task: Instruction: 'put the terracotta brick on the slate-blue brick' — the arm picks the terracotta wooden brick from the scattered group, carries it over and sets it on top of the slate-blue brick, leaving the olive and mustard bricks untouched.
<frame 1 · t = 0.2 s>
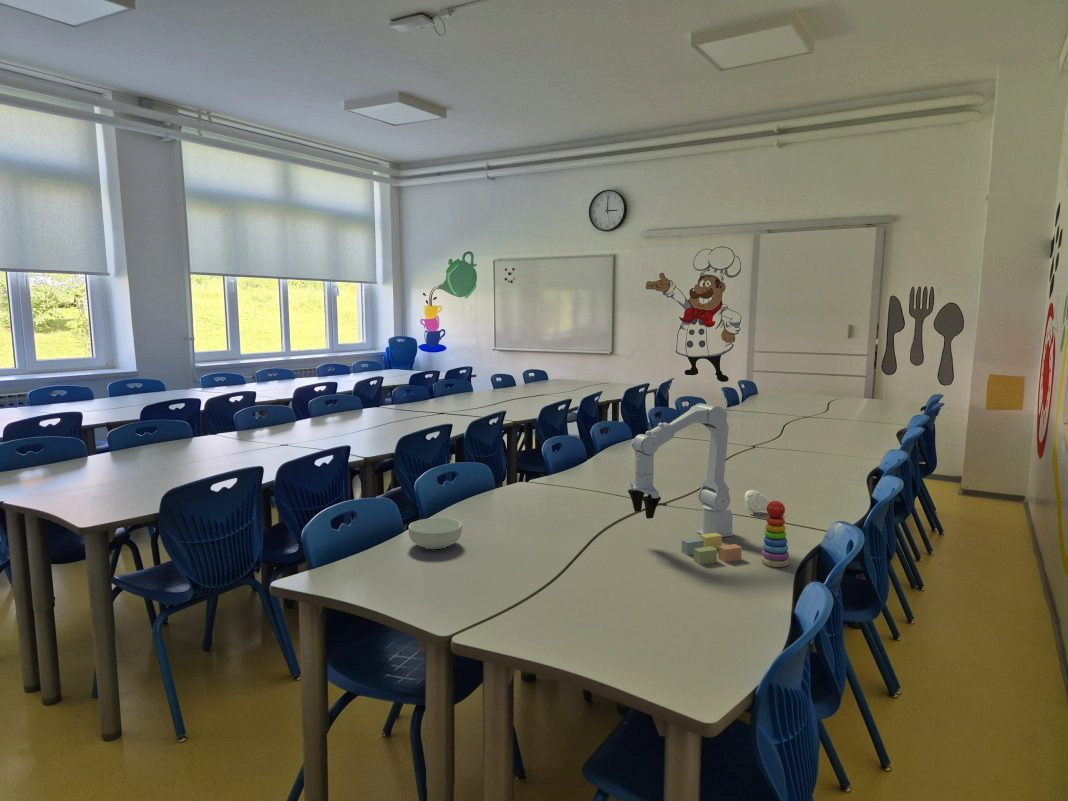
hand: (643, 514, 210), 10 cm above the table, fingers open, 7 cm apart
slate brick: (692, 552, 205), on the table
mustard brick: (710, 547, 210), on the table
terracotta brick: (729, 559, 199), on the table
stacking toy: (774, 563, 196), on the table
white textured lump: (760, 514, 245), on the table
olive brick: (705, 562, 197), on the table
cereal bowl: (435, 546, 211), on the table
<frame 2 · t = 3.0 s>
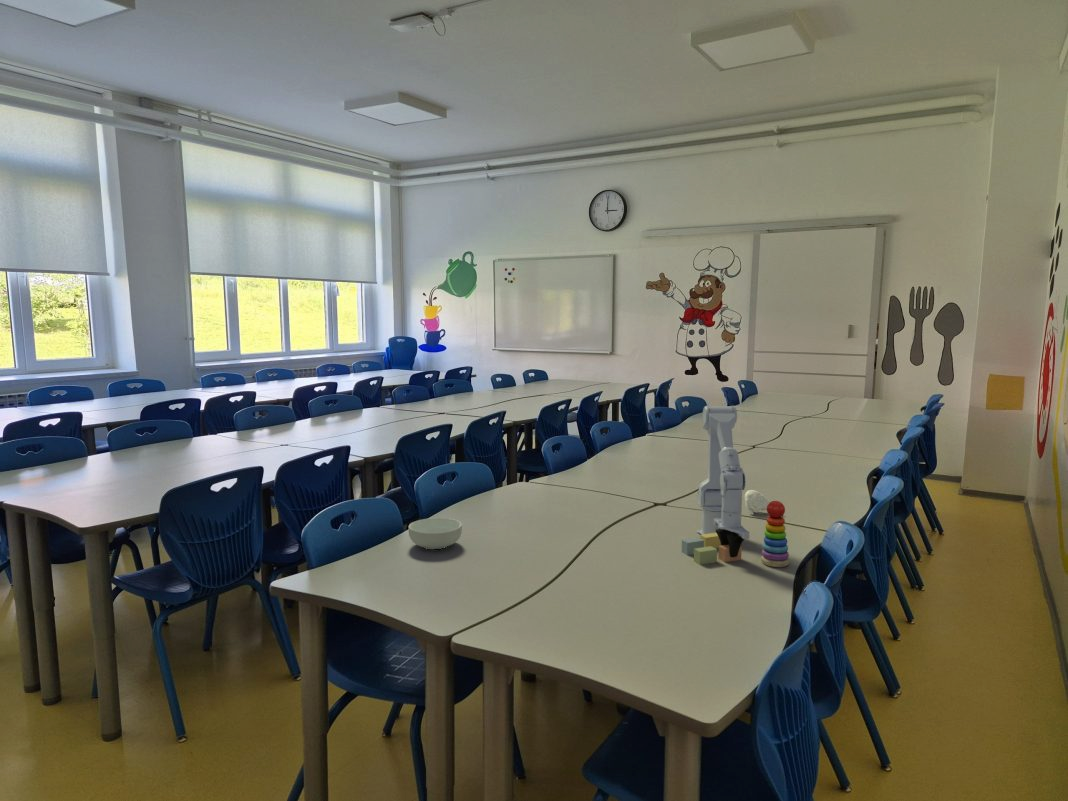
hand: (729, 554, 199), 1 cm above the table, fingers closed on terracotta brick, 3 cm apart
terracotta brick: (729, 559, 199), on the table, touching gripper
everything else where it was.
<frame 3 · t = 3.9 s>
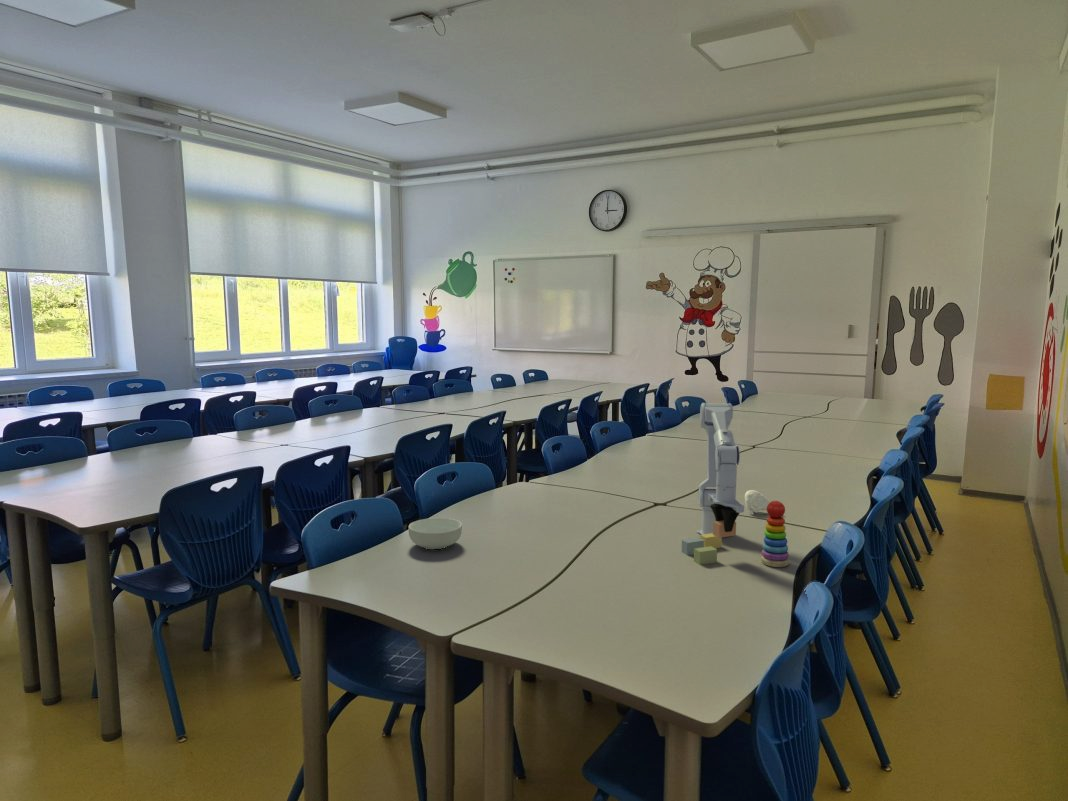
hand: (724, 529, 199), 9 cm above the table, fingers closed on terracotta brick, 3 cm apart
terracotta brick: (724, 535, 199), point 7 cm above the table, touching gripper
everything else where it was.
when the fingers open (7 cm above the table, at t = 5.1 s): terracotta brick stays where it is, resting on slate brick.
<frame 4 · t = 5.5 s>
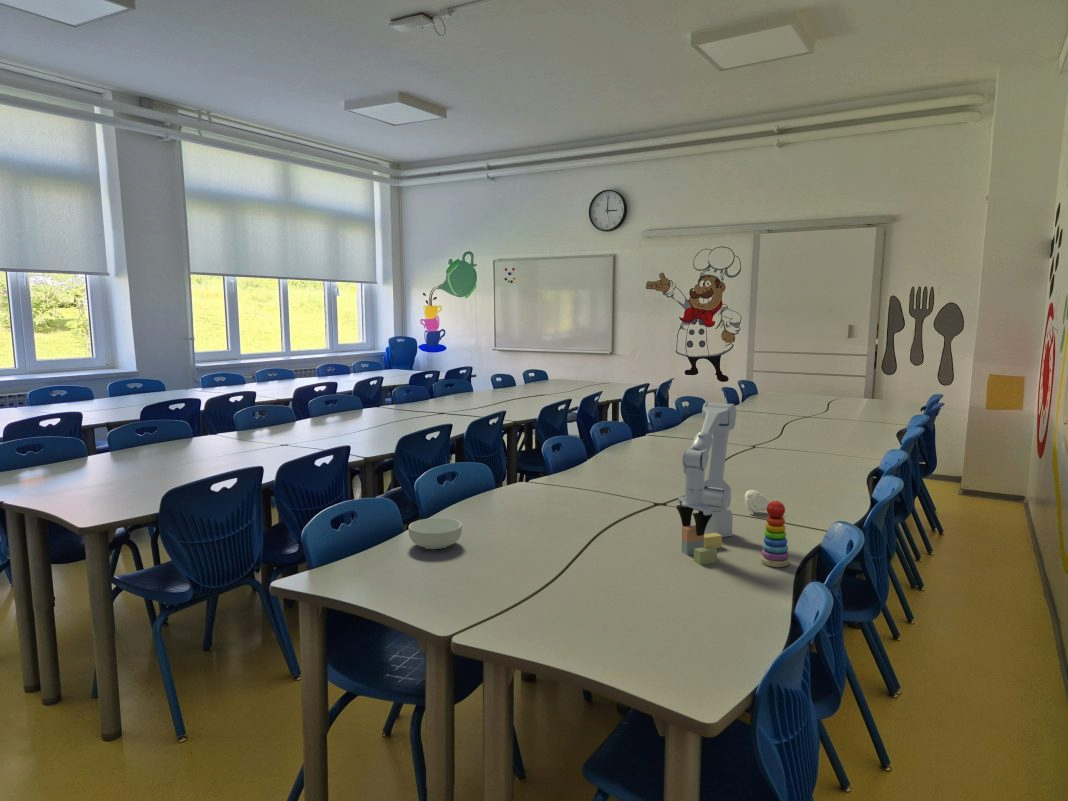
hand: (693, 531, 204), 7 cm above the table, fingers open, 7 cm apart
slate brick: (692, 552, 205), on the table, touching terracotta brick
terracotta brick: (692, 539, 204), point 4 cm above the table, touching slate brick
everything else where it was.
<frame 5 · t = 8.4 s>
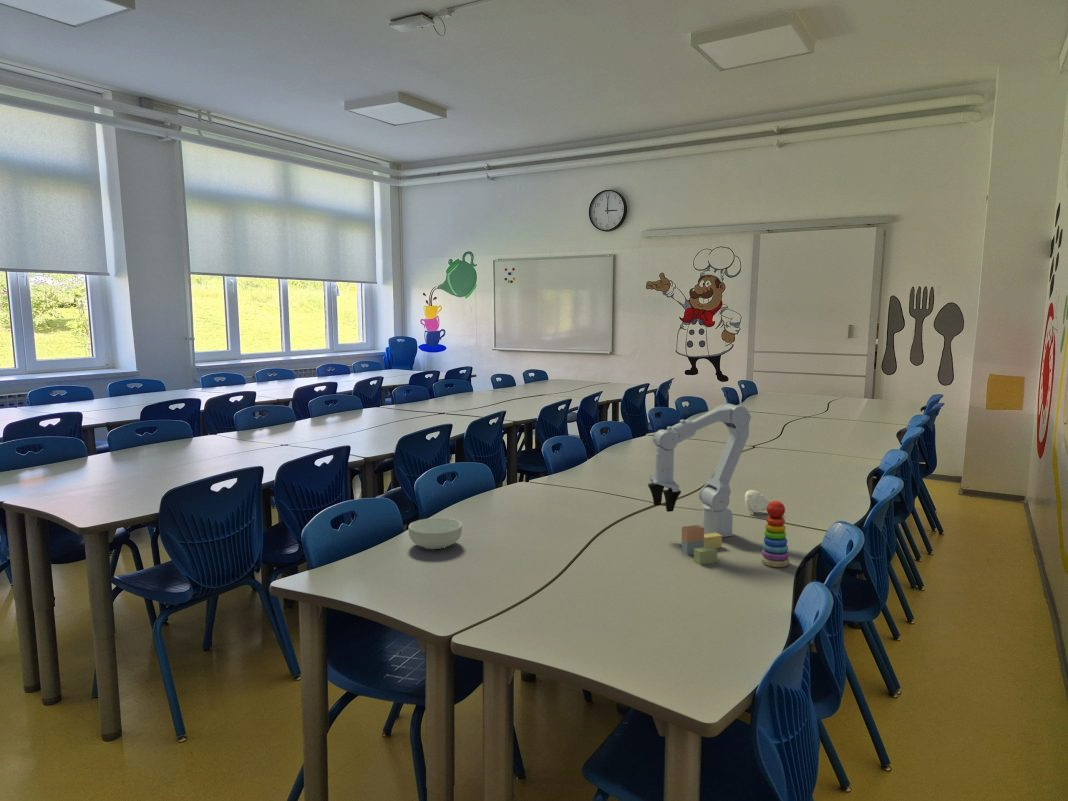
hand: (663, 508, 216), 10 cm above the table, fingers open, 7 cm apart
nothing on the table moved.
at the end: terracotta brick 0.1 cm off-centre on the slate brick, point 4.0 cm above the slate brick's base; olive brick moved 0.2 cm from its start; mustard brick moved 0.2 cm from its start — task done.
